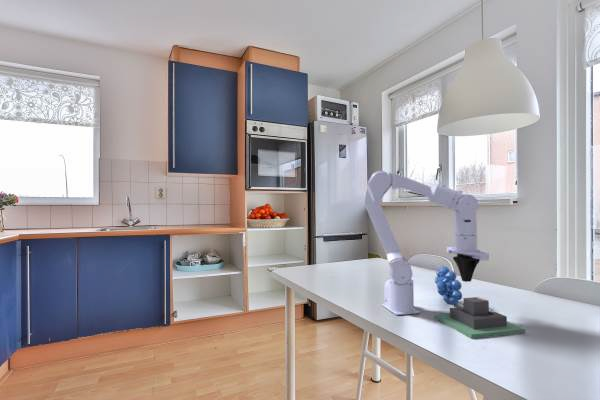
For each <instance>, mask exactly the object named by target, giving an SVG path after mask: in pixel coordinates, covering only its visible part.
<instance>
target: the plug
mask: <svg viewBox="0 0 600 400" xmlns="http://www.w3.org/2000/svg"><path fill="white" fill-rule="evenodd" d="M462 298H463V299H462V300H463V307H464V312H466V313H468V314H470V315H472V316H484V315H489V309H490V307H489V306H490V300H489V299H485V298H483V297H479V296H477V297H476V296H475V297H462Z"/></svg>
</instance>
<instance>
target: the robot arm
mask: <svg viewBox="0 0 600 400" xmlns="http://www.w3.org/2000/svg"><path fill="white" fill-rule="evenodd" d="M366 183H367V184H366V191H365V196H364V200H363V201H364V202H363V203H364V206H365V209H366V212H367V213H368V217H370V220H371V222H372V225H373V227H374V230H375V232H376V234H377V236H378V240H379V241H380V243H381V246H382V249H383V250H384V253H385V255H386V258H387V262H388V265H389V267H390V272H389V273H390V278H389V279H387V280H386V282H385V283H384V288H383V289H384V293H383V294H384V303H382V304H381V305H382V307H384V308H385V309H387V310H389V312H391V313H393V314H394V315H395V316H402V315H403V316H405V315H414V314H420V312H421V311H420V310H418V309H416V308H415V306H414V305H415V303H414V299H415V298H414V293H415V292H414V280H413V279H412V277H413V270H412V267H411V263H410V262H409V261H408V260H407V259H406V258H405V257H404V254H403V252H402V251H401V249H400V247H399V244H398V242H397V240H396V237H395V234H394V233H393V232H394V231H393V230H392V228H391V225H390V224H389V221H388V219H387V217H386V215H385V213H384V210H383V208H382V205H381V202H382V200H383V198H384V196H385V194H386V193H387V192H388V191H389V190H390V189H391V188H392V190H398V189H403V190H407V191H409V192H413V193H416V194H418V195H419V194H420V195H423V196H426V197H427V199H428V201H429V202H430V203H431V204H435V205H438V206H441V207H443V208H446V209H449V210H452V209H453V210H454V215H455V217H454V218H455V219H454V246H446V253H447V254H454V255H456V256H453V257H452V259H453V261H454V263H455V264H456V266H457V269H458V271H459V275H460V278H461V281H462V282H465V283H468V282H470V283H471V282H472V281H473V280H472V279H473V276H474V272H475V269H476V268H477V266H478V264H479V263H480V261H490V258H489V257H490V256H489V255H490V254H489V253H487V252H484V251H481V250H480V249H478V229H477V226H478V225H477V224H478V223H477V222H478V220H477V211H478V209H479V207H480V203H479V202H478V199H477V198H476V197H475V196H474V195H472V194H467V193H466V194H463V191H462V190H461V189H460V190H455V189H452V188H450V187H447V185H446V184H444V183H442V184H435V185H433V186H430V185H427V184H424V183H421V182H418V181H417V180H414V179H411V178H408V177H406V176H404V175H400V174H397V173H394V172H393V173H392V172H386V171H383V170H378V171H377V170H376V171H375V172H373V173H372V175H371V176H370V177H369V179H368V181H367V182H366Z"/></svg>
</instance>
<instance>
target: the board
mask: <svg viewBox="0 0 600 400" xmlns="http://www.w3.org/2000/svg"><path fill="white" fill-rule="evenodd" d="M434 319H436V320H437V321H439V322H441V323H443V324H445V325H446V326H448V327H450V328H452V329H453V330H455V331H457V332H459V333H461V334H462V335H464V336H466V337H467V338H469V339H480V338H489V337H498V336H501V337H502V336H508V335H518V334H526V328H525V327H521V326H519V325H517V324H515V323H512V322H510V321H508V320H507V319H508V316H507V315H503V314H501V313H499V312H497V311H495V310H492V309H490V308H489V315H484V316H472V315H470V314H468V313H466V312H464V306H460V307H459V306H458V307H457V306H455V307H449V313H438V314H434Z"/></svg>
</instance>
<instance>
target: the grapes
mask: <svg viewBox="0 0 600 400" xmlns="http://www.w3.org/2000/svg"><path fill="white" fill-rule="evenodd" d="M435 272H436V277H434V278H435V279H434V283H435V285H436V287H437V293H438V294H439V295H440V296H441V297H442V300H443V301H444V302H445V303H446V304H451V305H453V306H457V305H458V304H459V301H460V300H463V299H462V298H463V294H462V292H461V291H460V290H461V289H462V282H461V281H459V280H458V279H457V274H456V272H455V271H454V270H450V268H448V267H447V266H444V265H443V266H442V267H441V268H437V270H436V271H435Z"/></svg>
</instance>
